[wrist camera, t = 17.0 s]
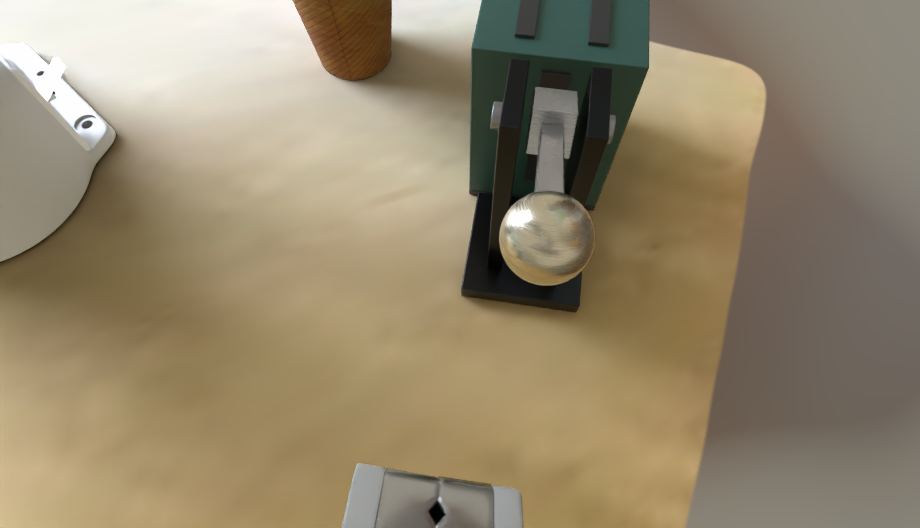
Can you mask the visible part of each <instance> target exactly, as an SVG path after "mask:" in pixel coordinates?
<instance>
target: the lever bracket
mask: <svg viewBox="0 0 920 528" xmlns="http://www.w3.org/2000/svg"><path fill="white" fill-rule="evenodd" d="M529 66H530V61H529V60H525V59H516V58H511V59H510V61H509V67H508V73H507V79H506V85H505V91H504V97H503V102H500V101H494V103H493V109H492V116H491V129H492V130H498V140H497V152H496V165H495V177H494V189H493V194H487V193H478V197H477V203H476V209H475V214H474V220H473V226H472V231H471V237H470V243H469V248H468V254H467V260H466V265H465V271H464V277H463V282H462V288H461V294H462V296H467V297H474V298H481V299H488V300H495V301H502V302H508V303H515V304H522V305H529V306H536V307H543V308H550V309H556V310H563V311H570V312H577V310H578V308H579V306H580V291H581V277H582V271H581V272H580V273H579V274H578V275H577V276H575V277H574V278H572V279H570V280H569V281H567V282H564V283H561V284H558V285H551V286H543V285H536V284H533V283H530V282H527V281H525V280H523V279H522V278H520V277H519V276H517V275H516V274H515V273H514V272H513V271H512V270H511V269H510V268H509V267H508V265H507V264H506V262H505V260H504V258H503V256H502V253H501V250H500V244H499V233H500V227H501V224H502V221H503V219H504V217H505V215H506V213H507V211H508V210H509V209H510V208H511V207H512V205H513V204H515V203H516V202H517V201H518V200H519V199H521V198H517V197H512V190H513V183H514V176H515V168H516V161H517V154H518V146H519V139H520V132H521V124H522V117H523V110H524V102H525V95H526V88H527V80H528V73H529ZM611 89H612V69H609V68H600V67H592V69H591V72H590V76H589V80H588V84H587V87H586V91H585V95H584V99H583V102H582V106H581V110H580V113H579V117H578V122H577V127H576V131H575V136H574V141H573V146H572V151H571V156H570V159H567V162H566V166H565V170H564V194H567V195H569V196H571V197H573V198H574V199H576V200H577V201H578V202H579V203H580V204H582V205H583V207H584V208H585V209H586V206H585V205H586V202H587V199H588V196H589V194H590V191H591V188H592V185H593V182H594V180H595V177H596V174H597V171H598V168H599V166H600V163H601V160H602V157H603V154H604V152H605V149H606V146H607V144H610V143H611V141H612V139H613V135H614V131H615V124H616V116H615V115H611V114H610V109H611Z"/></svg>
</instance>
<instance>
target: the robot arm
mask: <svg viewBox="0 0 920 528" xmlns="http://www.w3.org/2000/svg"><path fill="white" fill-rule="evenodd" d="M65 68H66V66H65V65H64V64H63V63H62V62H61V60H60V59H59V58H58V57H54V58H53V60H52V62H51V64H50V65H48V64H47V63H46V62H45V61H44V60H43V59H42V58H41V57H40V56H39V55H38V54H37V53H36V52H35V51H34V50H33V49H32V48H31V47H29V46H28V45H27V44H24V43H12V44H2V45H0V262H1V261H4V260H7V259H9V258H11V257H14V256H16V255H18V254H20V253H22V252H24V251H26V250H28V249H29V248H31V247H33V246H34V245H36V244H37V243H39V242H40V241H42V240H43V239H45V238H46V237H47V236H49V235H50V234H51V233H52V232H53V231H55V230H56V229H57V228H58V227H59V226H60V225H61V224H62V223H63V222H64V221H65V220H66V219H67V218H68V217H69V216H70V214H71V213H72V212H73V211H74V209H75V208H76V207H77V205H78V204H79V202H80V201H81V199H82V197H83V195H84V193H85V191H86V189H87V187H88V184H89V181H90V178H91V175H92V172H93V169H94V167H95V165H96V163H97V162H98V161H99V159H100V158H101V157H102V156H103V155H104V154H105V152H106V151H107V150H108V149H109V147H110V146H111V145H112V143H113V141H114V140H115V136H116V134H115V131H114V129H113V128H112V127H111V126H110V125H109V124H108V123H107V122H106V121H105V120H104V119H103V118H102V117H101V116H100V115H99V114H98V113H97V112H96V111H95V110H94V109H93V108H92V107H91V106H90V105H89V104H88V103H87V102H86V101H85V100H84V99H83V98H82V97H81V96H80V95H79V94H77V93H76V92H75V91H74V90H73V89H72V88H71V87H70V86H69V85H68V84H67V83H66V82H65V81H64V80H63V79H62V78H61V75H62V73H63V71H64V69H65ZM384 471H385V473H384ZM341 528H523V510H522V496H521V493H520V491H519V490H518V489H516V488H509V487H502V486H495V485H491V484H488V483H481V482H474V481H467V480H460V479H453V478H447V477H440V476H439V477H436V476H430V475H424V474H418V473H413V472H407V471H401V470H395V469H390V468H385V467H380V466H374V465H368V464H361V463H357V466H356V469H355V472H354V475H353V480H352V484H351V488H350V493H349V497H348V501H347V506H346V510H345V514H344V519H343V523H342V527H341Z"/></svg>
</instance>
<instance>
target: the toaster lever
mask: <svg viewBox="0 0 920 528" xmlns="http://www.w3.org/2000/svg"><path fill="white" fill-rule="evenodd" d="M578 117H579V103H578V92H577V91H569V90H560V89H551V88H543V87H535V88H534V94H533V101H532V108H531V114H530V121H529V128H528V136H527V144H526V154H532V155H537V166H536V178H535V189H534V193H531V194H528V195H526V196H524V197H523V198H521V199H519V200H518V201H517V202H516V203H515V204H513V205H512V207H511V208H510V209H509V210H508V211H507V213H506V215H505V217H504V219H503V221H502V224H501V227H500V233H499V244H500V250H501V253H502V256H503V258H504V260H505V262H506V264H507V265H508V267H509V268H510V269H511V270H512V271H513V272H514V273H515V274H516V275H517V276H519V277H520V278H522V279H523V280H525V281H527V282H530V283H533V284H536V285H543V286H551V285H558V284H561V283H564V282H567V281H569V280H570V279H572V278H574V277H575V276H577V275H578V274H579V273H580V272H581V271H582V270H583V269H584V268H585V267H586V265H587V264H588V262H589V260H590V258H591V256H592V254H593V251H594V246H595V229H594V225H593V222H592V219H591V217H590V215H589V213H588V212H587V210H586V209H585V208H584V207H583V205H582V204H580V203H579V202H578V201H577V200H576V199H574V198H573V197H571V196H569V195H567V194H564V159H570V156H571V151H572V146H573V141H574V136H575V131H576V127H577V122H578Z"/></svg>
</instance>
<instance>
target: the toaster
mask: <svg viewBox="0 0 920 528" xmlns="http://www.w3.org/2000/svg"><path fill="white" fill-rule="evenodd" d="M511 58H516V59H525V60H529V61H530V66H529V73H528V80H527V88H526V95H525V102H524V110H523V117H522V124H521V132H520V139H519V146H518V154H517V161H516V168H515V176H514V183H513V190H512V197H517V198H523V197H524V196H526V195H528V194H531V193H534V189H535V178H536V166H537V155H532V154H526V144H527V136H528V128H529V121H530V114H531V108H532V101H533V94H534V88H535V87H543V88H551V89H560V90H569V91H577V92H578V103H579V113H580V110H581V106H582V102H583V99H584V95H585V91H586V87H587V84H588V80H589V76H590V72H591V69H592V67H600V68H609V69H612V89H611V109H610V114H611V115H615V116H616V124H615V131H614V135H613V139H612V141H611V143H610V144H607V146H606V149H605V152H604V154H603V157H602V160H601V163H600V166H599V168H598V171H597V174H596V177H595V180H594V182H593V185H592V188H591V191H590V194H589V196H588V199H587V202H586V205H585V206H586V209H589V210H594V208H595V205H596V203H597V200H598V198H599V195H600V193H601V190H602V187H603V185H604V182H605V180H606V177H607V174H608V172H609V169H610V167H611V164H612V162H613V159H614V156H615V154H616V151H617V149H618V146H619V143H620V141H621V138H622V136H623V133H624V131H625V128H626V125H627V123H628V120H629V118H630V115H631V112H632V110H633V107H634V105H635V102H636V100H637V97H638V94H639V92H640V89H641V87H642V84H643V81H644V79H645V76H646V74H647V71H648V69H649V0H482V2H481V6H480V11H479V16H478V21H477V25H476V30H475V35H474V39H473V44H472V54H471V121H470V189H469V193H470V194H475V195H478V193H487V194H493V189H494V177H495V165H496V152H497V140H498V130H492V129H491V116H492V109H493V103H494V101H500V102H503V97H504V91H505V85H506V79H507V73H508V67H509V61H510V59H511ZM566 162H567V159H564V170H565V166H566Z"/></svg>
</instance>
